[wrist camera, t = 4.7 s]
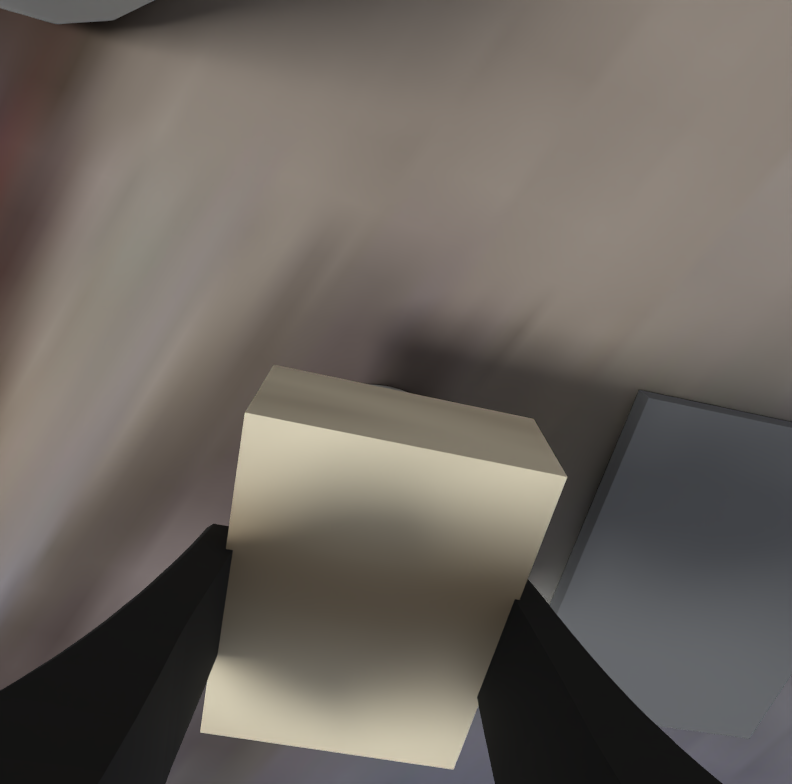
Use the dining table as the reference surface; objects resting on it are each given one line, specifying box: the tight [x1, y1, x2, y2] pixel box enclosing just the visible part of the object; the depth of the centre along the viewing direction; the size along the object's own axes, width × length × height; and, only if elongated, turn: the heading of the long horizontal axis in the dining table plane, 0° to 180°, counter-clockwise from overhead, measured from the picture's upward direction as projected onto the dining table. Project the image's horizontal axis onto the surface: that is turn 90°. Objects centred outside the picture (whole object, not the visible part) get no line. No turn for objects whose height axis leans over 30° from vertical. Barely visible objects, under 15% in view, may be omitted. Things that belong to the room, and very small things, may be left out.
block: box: [200, 365, 567, 769], centre depth 12 cm, size 8×6×2 cm
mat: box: [550, 390, 792, 739], centre depth 18 cm, size 12×9×1 cm
